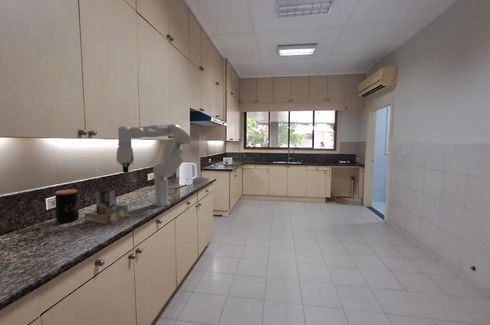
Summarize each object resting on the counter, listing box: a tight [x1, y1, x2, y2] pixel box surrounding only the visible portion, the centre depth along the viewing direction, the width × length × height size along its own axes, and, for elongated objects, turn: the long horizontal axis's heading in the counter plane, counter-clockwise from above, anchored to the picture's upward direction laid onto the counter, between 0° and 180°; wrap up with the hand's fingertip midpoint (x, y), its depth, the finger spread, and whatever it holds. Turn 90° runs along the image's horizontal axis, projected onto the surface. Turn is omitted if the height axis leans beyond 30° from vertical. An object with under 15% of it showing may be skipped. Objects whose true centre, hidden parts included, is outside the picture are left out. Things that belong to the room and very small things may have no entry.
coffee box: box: [95, 188, 117, 215], centre depth 141 cm, size 9×6×16 cm
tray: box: [95, 204, 129, 217], centre depth 143 cm, size 14×17×7 cm
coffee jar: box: [54, 188, 80, 224], centre depth 138 cm, size 11×11×18 cm
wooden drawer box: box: [84, 209, 128, 226], centre depth 142 cm, size 14×17×5 cm
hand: (125, 172), depth 156 cm, fingers closed
